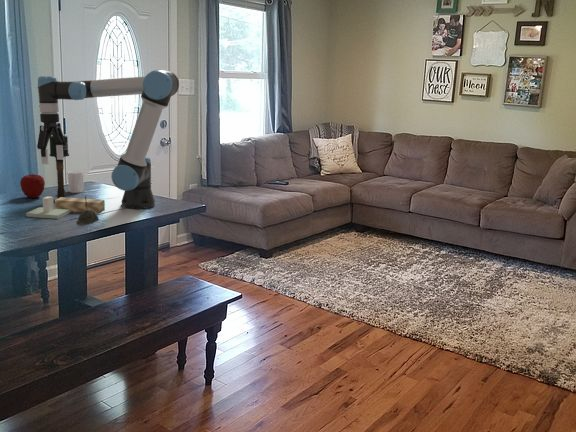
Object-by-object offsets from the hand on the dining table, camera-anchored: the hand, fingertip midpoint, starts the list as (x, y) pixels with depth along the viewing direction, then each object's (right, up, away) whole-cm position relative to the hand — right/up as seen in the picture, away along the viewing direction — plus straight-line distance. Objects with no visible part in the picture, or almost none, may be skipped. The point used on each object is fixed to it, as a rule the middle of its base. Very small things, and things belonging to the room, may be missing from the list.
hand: (52, 161), depth 261 cm
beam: (+11, -22, +3) cm, 24 cm away
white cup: (-4, -12, +39) cm, 41 cm away
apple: (-18, -15, +22) cm, 32 cm away
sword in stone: (+20, -26, -14) cm, 36 cm away
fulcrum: (+1, -23, -7) cm, 24 cm away
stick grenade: (-4, -16, +21) cm, 27 cm away
